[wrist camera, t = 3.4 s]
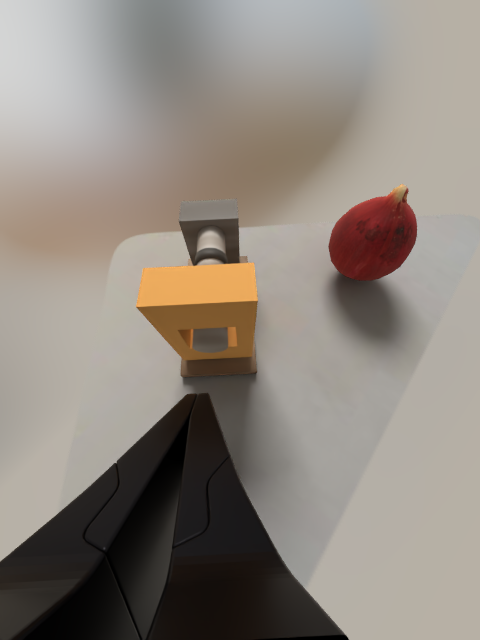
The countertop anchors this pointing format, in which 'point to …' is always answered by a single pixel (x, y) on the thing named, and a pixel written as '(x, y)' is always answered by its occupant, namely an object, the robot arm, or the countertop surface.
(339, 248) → the onion
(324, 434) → the countertop surface
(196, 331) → the pipe stand
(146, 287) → the collar
